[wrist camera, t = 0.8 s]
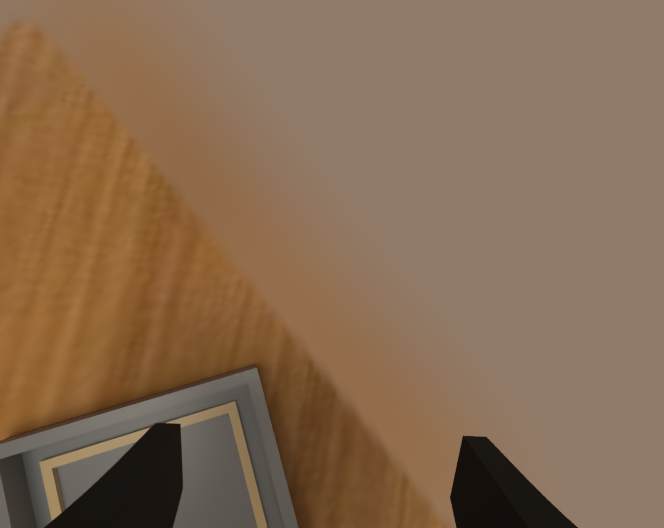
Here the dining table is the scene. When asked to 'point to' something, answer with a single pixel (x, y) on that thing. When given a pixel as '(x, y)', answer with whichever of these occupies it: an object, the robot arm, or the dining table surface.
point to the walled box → (197, 457)
